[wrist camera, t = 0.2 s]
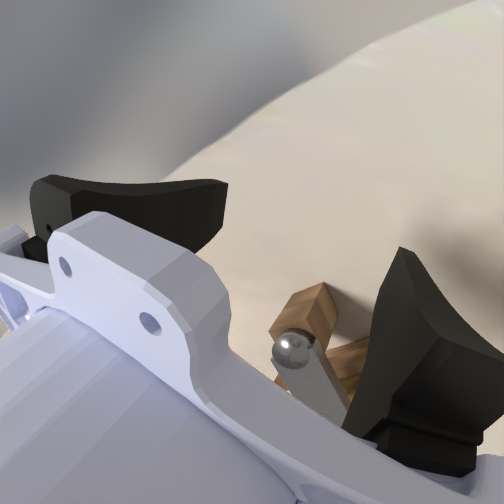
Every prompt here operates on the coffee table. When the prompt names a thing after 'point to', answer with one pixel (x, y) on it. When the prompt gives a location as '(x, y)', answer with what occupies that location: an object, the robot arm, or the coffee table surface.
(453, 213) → the coffee table surface
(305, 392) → the lever
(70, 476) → the robot arm
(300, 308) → the body
